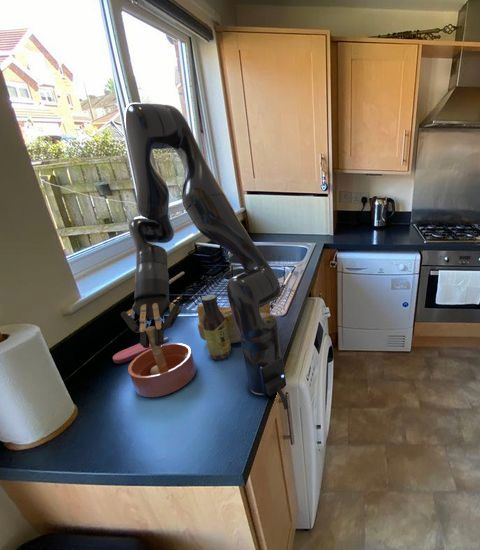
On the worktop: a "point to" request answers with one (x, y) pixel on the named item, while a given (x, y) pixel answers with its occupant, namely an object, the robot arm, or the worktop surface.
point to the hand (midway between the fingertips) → (152, 346)
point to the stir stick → (156, 350)
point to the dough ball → (154, 370)
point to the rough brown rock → (230, 323)
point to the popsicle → (130, 353)
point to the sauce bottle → (215, 329)
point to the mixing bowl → (169, 381)
